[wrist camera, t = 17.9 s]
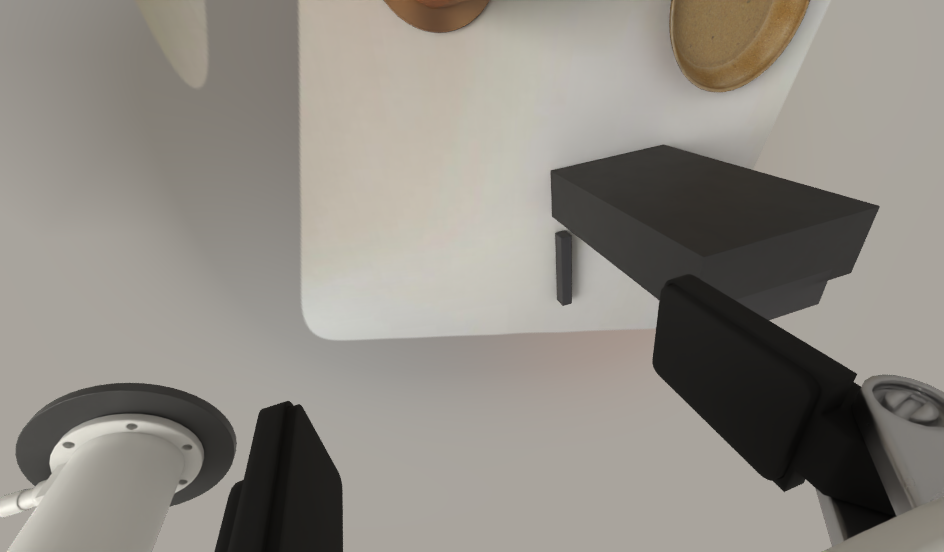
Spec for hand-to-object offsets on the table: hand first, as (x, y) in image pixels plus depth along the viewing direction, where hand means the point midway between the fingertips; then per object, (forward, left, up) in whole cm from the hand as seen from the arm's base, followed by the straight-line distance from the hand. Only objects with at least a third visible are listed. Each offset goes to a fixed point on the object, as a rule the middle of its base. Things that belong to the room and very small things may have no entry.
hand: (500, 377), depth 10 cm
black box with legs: (+22, -13, -29) cm, 38 cm away
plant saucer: (+33, +7, -29) cm, 44 cm away
